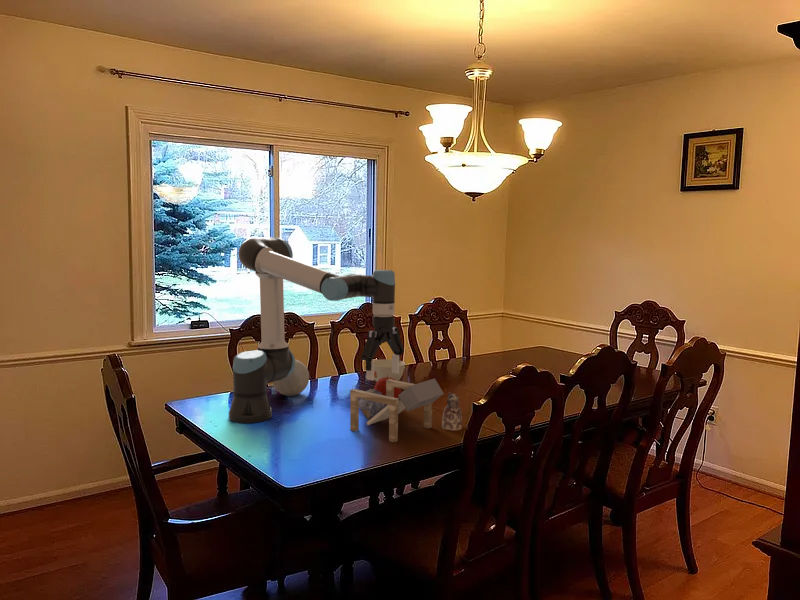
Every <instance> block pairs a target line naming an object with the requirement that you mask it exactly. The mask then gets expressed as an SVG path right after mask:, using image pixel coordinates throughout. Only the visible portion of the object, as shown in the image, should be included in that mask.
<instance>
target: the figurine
mask: <svg viewBox="0 0 800 600" xmlns="http://www.w3.org/2000/svg"><path fill="white" fill-rule="evenodd" d="M447 395H448V397H447V399H446V403H447V405H446V406H445V407H444V409H443V412H442V413H443V414H442V419H441V428H442V429H443V430H448V431H453V432H454V431H459V430H462V429H463V413H462V409H461V408H462V407H461V406H460V396H458V395H457V394H456V393H452V392H451V391H449V392H448V393H447Z"/></svg>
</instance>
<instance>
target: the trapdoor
mask: <svg viewBox="0 0 800 600" xmlns="http://www.w3.org/2000/svg"><path fill="white" fill-rule="evenodd" d="M414 384H415V385H411V386H409V387H408V388H407V389H403V391H401V394H399V395H398V396H399V398H397V399H398V415H399V414H401V413H402V412H403V411H405V410H406V412H410V411H413V410H415V409H418V408H421V407H424V405H427V404H430V403H432V404H433V403H434V402H436V401H437V400H438V399H439V398H441V397H442V396H443V395H444V391H443V390H442V388H441V387H440V384H439V383H438V381H437V380H436V378H432V379H429V380H425V381H422V382H418V383H414ZM387 419H389V405H387V406H386V407H385V408H384V409H382V410H381V411H380V412H379V413H378V414H376V415H375V416H374V417H373V418H371V419H370V420H367V422H366V425H367V426H370V425H372V424H376V423H378V422H381V421H384V420H387Z"/></svg>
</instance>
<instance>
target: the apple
mask: <svg viewBox="0 0 800 600" xmlns="http://www.w3.org/2000/svg"><path fill="white" fill-rule="evenodd" d="M388 379H392V380H396V379H393V378H389V377H388V375H387V377H384V378H381V379H379V380H378V381H377V382H376V381H375V382H376V383H375V384H374V388H373V389H375V390H377V391H379V392H381V393H382V395H385V396H386V380H388ZM401 393H402V389H401V388H396V387H394V398H399V396H398V395H399V394H401Z"/></svg>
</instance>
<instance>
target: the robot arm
mask: <svg viewBox="0 0 800 600" xmlns="http://www.w3.org/2000/svg"><path fill="white" fill-rule="evenodd" d="M293 256H294V254H293V249H292V247H291V245H290V244H289V243H288V242H287V240H286V239H284V238H281V237H275V236H268V237H267V236H266V237H255V236H254V237H250V238H248V239H246V240H245V241H243V242H242V243H241V245H240V246H239V249H238V258H239V261H240V263H241V264H242V265H243V266H244V267H245V268H246V269H249V270H251V271H253V272H255V275H256V276H257V277H258V278H259V289H260V292H259V297H260V298H259V299H260V300H259V301H260V302H259V303H260V329H261V331H260V332H261V342H260V343H259V344H258V345H257V349H256V350H252V349H251V350H249V351H243V352H239V353H238V354H236V355H235V356H234V357H233V361H232V362H233V363H232V364H233V365H232V383H233V384H232V385H233V397H232V401H231V403H230V404H231V405H230V409H229V411H228V419H229V420H230V421H231V422H235V423H239V424H240V423H241V424H252V423H253V424H255V423H260V422H265V421H267V420H269V419H271V418H272V416H273V410H272V407H271V403H270V401H269V398H268V395H267V393H268V392H267V391H268V390H267V389H268V388H267V386H268V384H271V383H272V384H273V382H274V381H279V380H282V379H284V378H285V377H287V376H289V375H290V374H291V373H292V371H293V370H294V367H295V360H296V358H295V354H294V353H293V352H292V350H291V349H290V345H289V343H288V342H287V341H286V339H285V305H284V303H285V302H284V297H285V295H284V280H285V281H288V282H291V283H293V284H295V285H298V286H300V287H303V288H305V289H309V290H311V291H313V292H316V293H319V294H321V295H322V296H323V297H324V299H326V300H328V301H334V302H335V301H337V302H338V301H343V300H345V299H352V298H353V299H354V298H359V297H363V298H372V315H373V316H372V326H373V328H374V330H368V331H367V338H366V341H365V345H364V347H363V351H362V354H361V356H360V359H361V360H363V361H365V370H366V371H365V372H366V377H365V378H366V379H365V380H367V381H368V380H369V381H372V382H373V381H375V380H374V360H373V359H374V357H375V356H376V354H377V352H378V350H379V348H380V346H381V345H382V344H385V343H386V344H388V347H389V348H390V350H391V351H392V353H393V354H391V360H392V373H397V374H398V373H399V363H400V361H401V360H400V359H401V358H400V357H401V356H402V355H403V353H404V352H405V349H404V345H403V342H402V339H401V337H400V336H401V335H400V332H399V331H400V330H399V327H396V326H395V316H394V315H395V313H396V312H395V310H396V309H395V303H396V302H395V301H396V300H395V299H396V297H395V294H396V276H395V275H396V274H395V271H393V270H392V269H391V270H390V269H375V270H373V272H372V274H371V275H370V274H369V275H366V274H365V275H364V274H355V273H351V274H350V273H349V274H344V275H341V276H340V275H337V274H334V273H331V272H329V271H327V270H324V269H322V268H318V267H316V266H313V265H310V264H307V263H304V262H303V261H302V262H301V261H299V260H297V259H293Z"/></svg>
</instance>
